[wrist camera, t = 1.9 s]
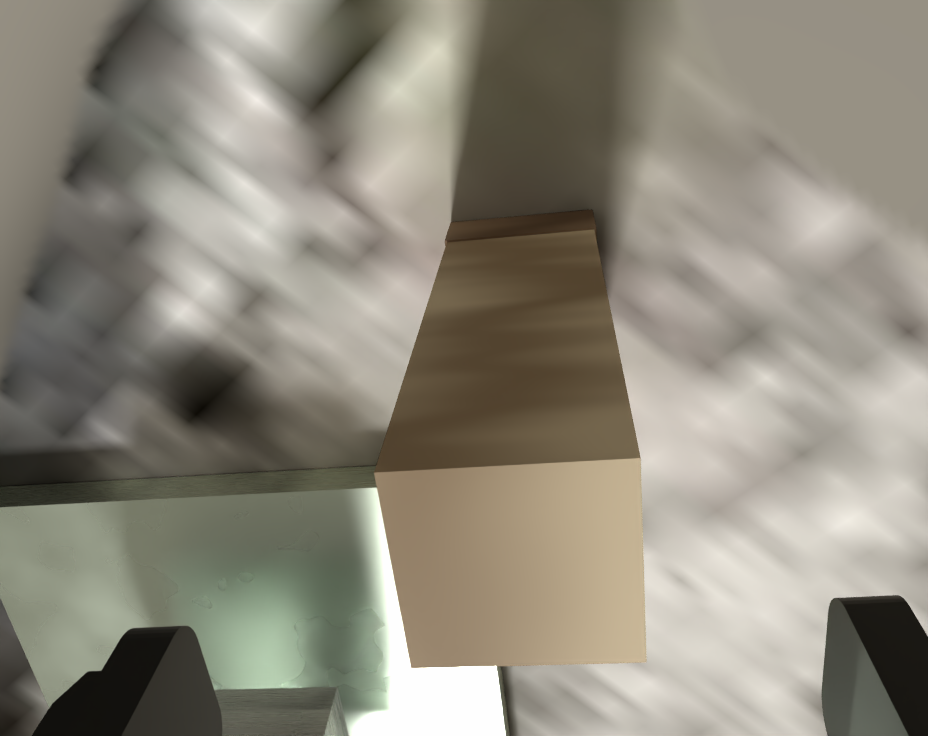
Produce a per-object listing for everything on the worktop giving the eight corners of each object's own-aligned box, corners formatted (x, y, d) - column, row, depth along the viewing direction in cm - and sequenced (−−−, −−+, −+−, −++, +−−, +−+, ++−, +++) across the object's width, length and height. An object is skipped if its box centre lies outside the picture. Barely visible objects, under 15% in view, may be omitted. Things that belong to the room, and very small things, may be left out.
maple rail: (592, 209, 22) (644, 454, 11) (599, 340, 24) (650, 664, 13) (450, 222, 22) (369, 470, 12) (466, 349, 24) (408, 671, 13)
